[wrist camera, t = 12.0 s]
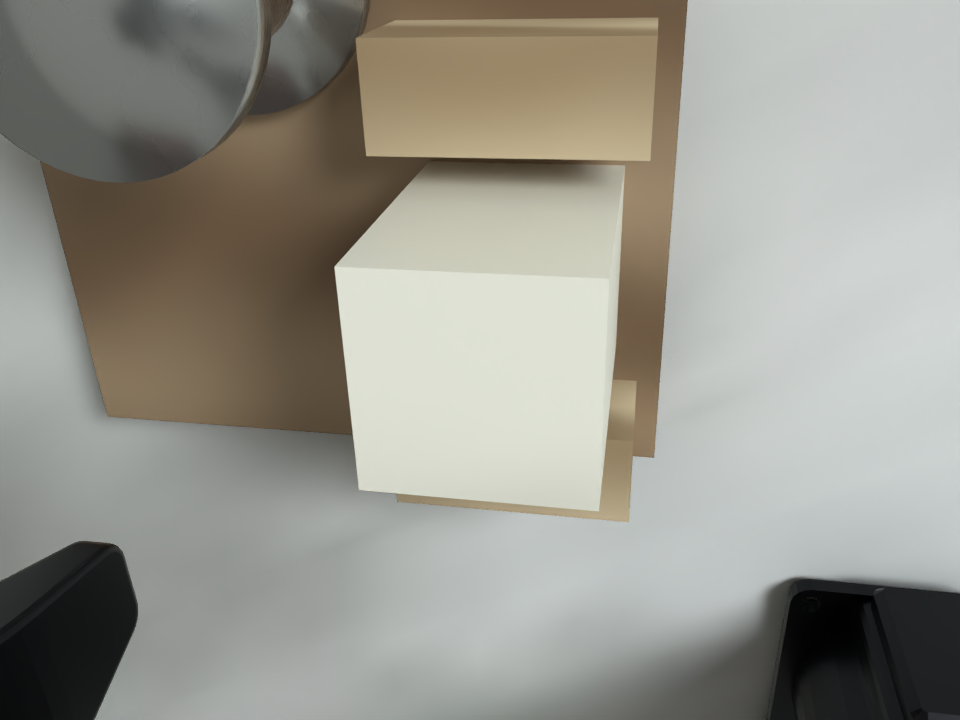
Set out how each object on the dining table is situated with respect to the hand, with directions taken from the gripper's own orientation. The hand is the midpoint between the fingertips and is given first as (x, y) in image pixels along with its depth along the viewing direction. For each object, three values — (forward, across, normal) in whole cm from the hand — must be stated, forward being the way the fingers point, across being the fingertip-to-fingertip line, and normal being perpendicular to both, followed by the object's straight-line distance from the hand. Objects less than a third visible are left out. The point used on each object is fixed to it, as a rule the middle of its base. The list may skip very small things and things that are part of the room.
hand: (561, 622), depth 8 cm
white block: (+11, +2, +1) cm, 11 cm away
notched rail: (+11, +2, +1) cm, 11 cm away
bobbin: (+11, +7, -5) cm, 14 cm away
